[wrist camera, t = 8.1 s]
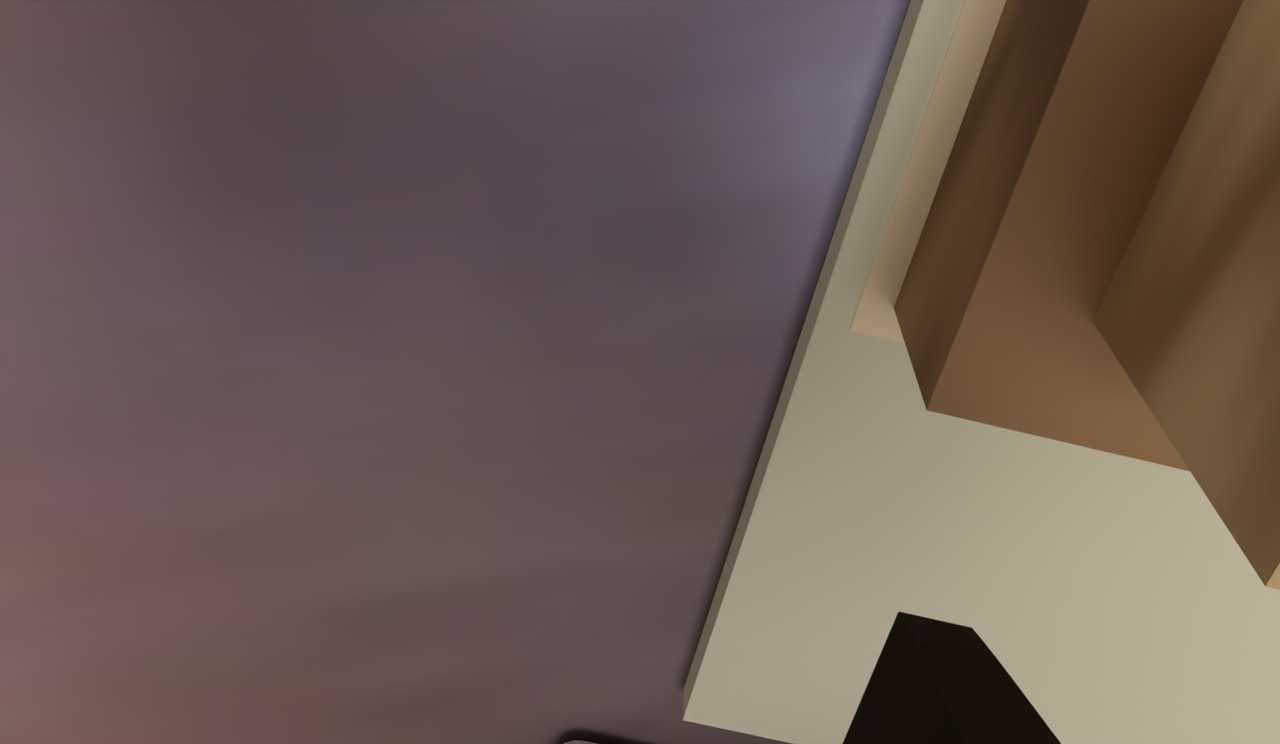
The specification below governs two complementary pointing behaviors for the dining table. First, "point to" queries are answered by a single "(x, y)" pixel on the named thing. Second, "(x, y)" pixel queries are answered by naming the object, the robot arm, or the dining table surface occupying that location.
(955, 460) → the plain cream board
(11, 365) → the dining table surface
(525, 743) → the dining table surface
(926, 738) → the robot arm
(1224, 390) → the light wooden cube
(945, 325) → the walnut slab
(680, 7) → the dining table surface
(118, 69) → the dining table surface
